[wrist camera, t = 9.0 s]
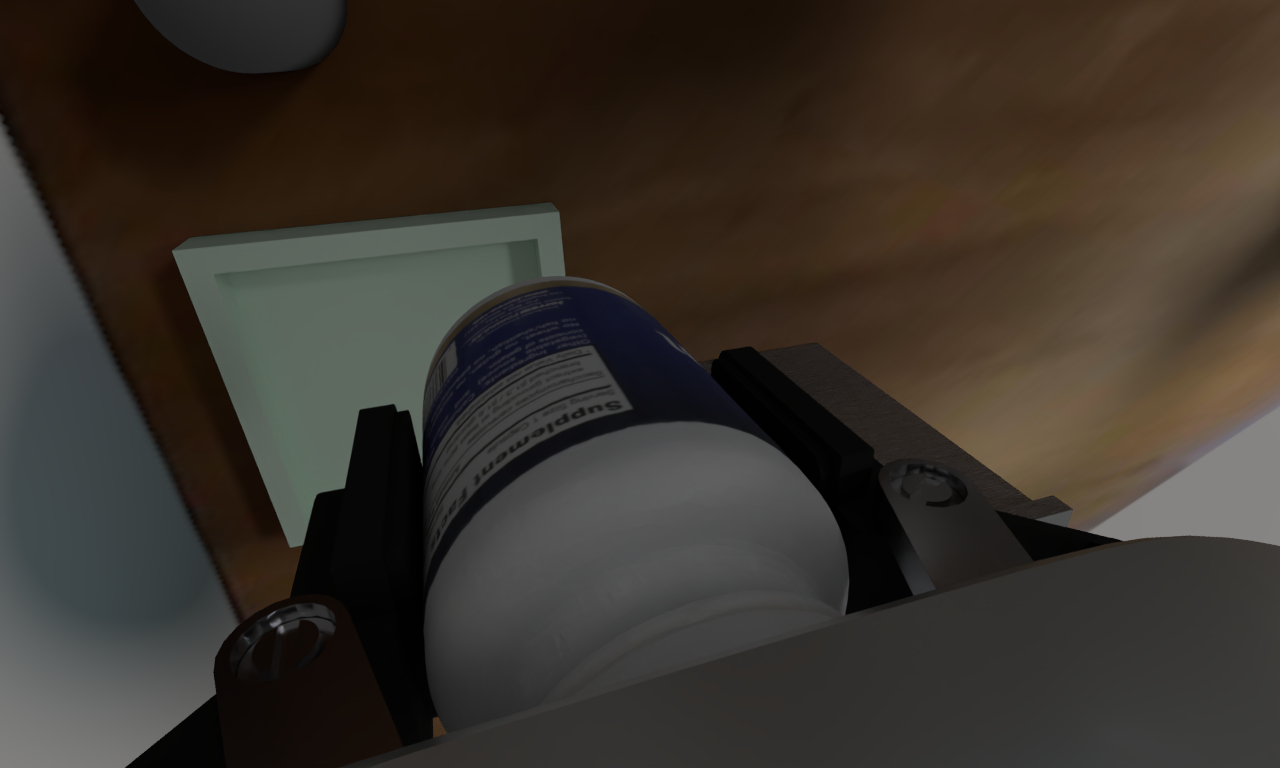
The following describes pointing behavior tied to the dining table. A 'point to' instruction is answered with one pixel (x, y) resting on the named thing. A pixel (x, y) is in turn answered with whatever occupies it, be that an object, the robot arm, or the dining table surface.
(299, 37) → the stopper
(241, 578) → the dining table surface
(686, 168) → the dining table surface
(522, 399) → the pill bottle
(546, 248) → the tray
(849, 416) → the metal box
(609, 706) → the robot arm
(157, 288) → the dining table surface
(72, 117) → the dining table surface
